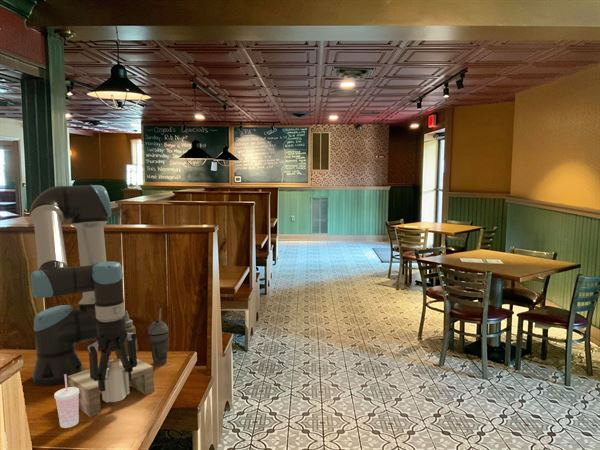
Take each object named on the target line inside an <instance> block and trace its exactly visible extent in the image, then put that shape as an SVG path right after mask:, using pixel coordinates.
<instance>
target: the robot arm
mask: <svg viewBox="0 0 600 450" xmlns="http://www.w3.org/2000/svg"><path fill="white" fill-rule="evenodd" d="M110 217H112V205H111V201H110V196H109V194H108V191H107V189H106V188H105V187H104V186H103V185H99V184H95V185H94V184H85V185H83V184H82V185H81V184H79V185H57V186H51V187H50V188H47V189H46V190H44V191H43V192H41V193H39V195H37V197H35V199H34V200H33V202H32V204H31V206H30V209H29V219H30V222H31V224H32V225H33V226H34V235H35V237H34V238H35V247H36V248H35V249H36V259H37V260H36V262H37V270H36V271H32V272H31V273H30V283H31V284H30V285H31V293H32V296H33V298H35V299H41V298H52V297H60V296H66V295H73V294H81V293H82V298H81V299H80V301H78V308H73V307H72V306H71V304H70V305H69V304H64V305H62V304H60V305H55V306H53V307H49V308H47V309H44V310H42V311H40V312H38V313H36V315H35V316H34V318H33V331H34V339H35V351H36V360H35V363H34V368H33V372H32V382H33V384H35V385H38V386H42V387H43V386H44V387H45V386H56V385H61V384H65V377H64V374H66V377H67V383H68V376H70V375H73V374H76V373H79V372H82V371H84V368H83V363H82V362H81V359H80V357H79V354H78V352H77V351H76V344H79V343H83V342H84V343H85V342H89V341H95V342H94V343H91V344H86V349H87V351H88V357H89V358H88V359H89V369H90V378H91V379H93V380H94V381H98V389H99V390H100V391H99V392H101V395H102V396H101V398H102V401H104V402H106V403H111V402H110V400H109V387H108V379H106V378H105V376H106V371H107V366H108V362H109V361H110V360H109V359H110V357H111V354H112V352H113V351H114V352H115V350H117V352H118V354H119V357H120V360H121V362H122V365H123V368H124V369H125V370H122V374H123V380H124V385H125V390H126V396H127V395H130V394H131V392H130V390H131V389H130V385H129V381H131V372H132V371H133V369H132V368H133V367H136V366H137V359H138V358H137V357H138V355H137V353H136V345H135V341H136V338H137V333H136V334H135V333H132V332H130V333H127V332H126V322H125V317H124V315H125V311H126V310H125V298H124V278H123V277H124V273H123V269H122V264H121V263H120V262H118V261H113V260H112V261H107V251H106V239H105V232H104V231H105V229H104V228H105V226H106V225H107V224H108V219H109V218H110ZM64 220H65V221H67V220H69V221H70V222H71V224H70V225H71V226H72V227H74V228H75V229H76V235H77V243H78V244H77V246H78V257H79V266H73V267H68V262H67V254H66V248H65V241H64V234H63V228H62V223H63V221H64ZM126 338H127V345H128V355H129V360H128V357H127V354H126V352H125V347H124V344H123V343H124V341H125V339H126ZM99 347H100V358H99V357H98V351H99V350H98V349H99ZM98 358H99V359H98ZM98 361H99V363H98ZM98 366H99V368H98Z"/></svg>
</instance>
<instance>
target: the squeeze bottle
mask: <svg viewBox="0 0 600 450" xmlns="http://www.w3.org/2000/svg"><path fill="white" fill-rule="evenodd" d="M124 317H125V322H126V332H127V333H130V332H132V333H135V334H136V335H137V331H136V326H135V325H133V322H134V321H133V320H132V319H130V315H129V313H128V310H125V315H124ZM123 344H124V347H125V352H126V354H127V356H129V355H128V345H127V338H126V339H125V341H124V343H123ZM135 345H136V354H137V352H138V350H139V349H138V339H137V337H136V341H135ZM114 353H115V355H116V359H120V357H119V354H118V352H117V350H114Z"/></svg>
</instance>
